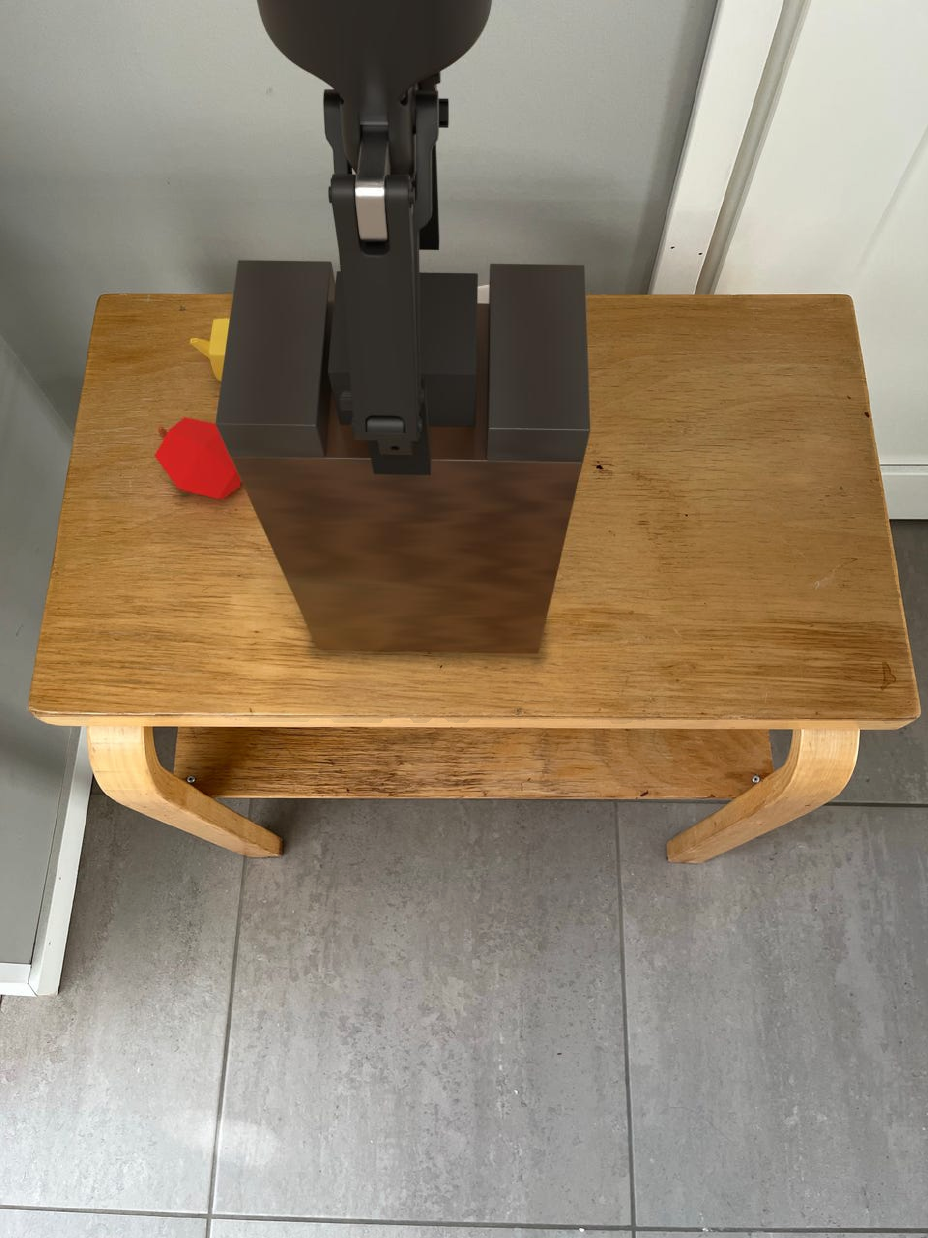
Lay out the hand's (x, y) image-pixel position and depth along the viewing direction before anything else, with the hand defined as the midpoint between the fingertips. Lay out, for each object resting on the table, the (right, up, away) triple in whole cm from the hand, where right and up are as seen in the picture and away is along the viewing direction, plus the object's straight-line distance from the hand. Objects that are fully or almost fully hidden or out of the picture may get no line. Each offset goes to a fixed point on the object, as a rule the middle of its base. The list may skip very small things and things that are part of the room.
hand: (408, 350), depth 46 cm
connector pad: (0, -1, +2) cm, 2 cm away
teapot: (-17, +9, +38) cm, 43 cm away
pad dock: (0, -12, +30) cm, 32 cm away
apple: (-20, -1, +34) cm, 40 cm away
